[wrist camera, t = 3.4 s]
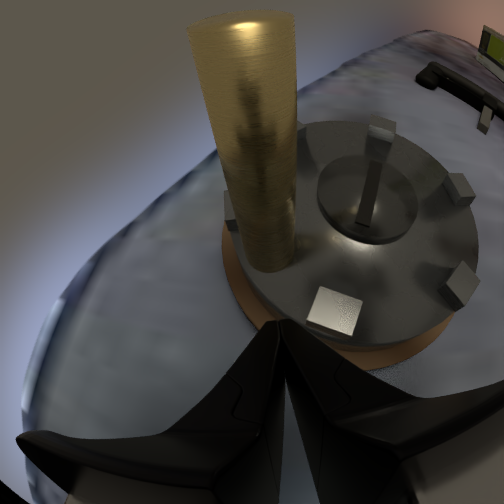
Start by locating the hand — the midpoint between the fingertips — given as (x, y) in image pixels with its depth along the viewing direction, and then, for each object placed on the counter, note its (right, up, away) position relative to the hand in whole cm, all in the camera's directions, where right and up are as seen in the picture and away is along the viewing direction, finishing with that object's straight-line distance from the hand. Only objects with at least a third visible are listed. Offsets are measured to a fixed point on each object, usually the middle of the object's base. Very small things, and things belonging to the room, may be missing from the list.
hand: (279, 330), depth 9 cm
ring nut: (+6, +4, +8) cm, 11 cm away
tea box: (+73, +56, +31) cm, 97 cm away
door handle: (+35, +26, +20) cm, 48 cm away
